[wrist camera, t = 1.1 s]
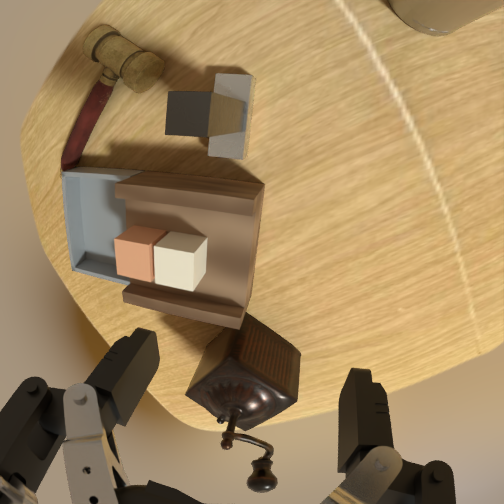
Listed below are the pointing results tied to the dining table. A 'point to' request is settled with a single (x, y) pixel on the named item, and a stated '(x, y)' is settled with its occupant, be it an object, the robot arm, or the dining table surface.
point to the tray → (94, 219)
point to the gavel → (109, 82)
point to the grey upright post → (215, 115)
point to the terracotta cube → (137, 252)
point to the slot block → (201, 224)
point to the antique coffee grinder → (247, 386)
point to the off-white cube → (180, 260)
